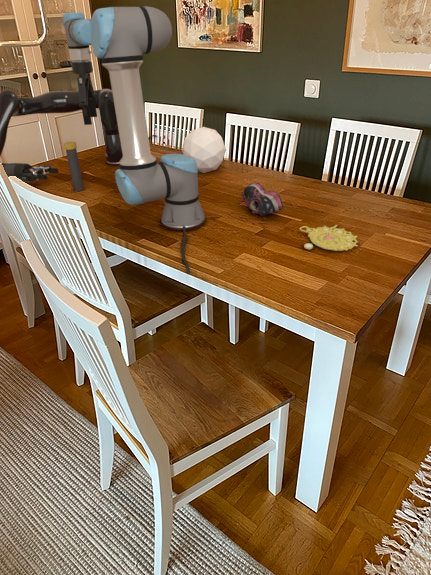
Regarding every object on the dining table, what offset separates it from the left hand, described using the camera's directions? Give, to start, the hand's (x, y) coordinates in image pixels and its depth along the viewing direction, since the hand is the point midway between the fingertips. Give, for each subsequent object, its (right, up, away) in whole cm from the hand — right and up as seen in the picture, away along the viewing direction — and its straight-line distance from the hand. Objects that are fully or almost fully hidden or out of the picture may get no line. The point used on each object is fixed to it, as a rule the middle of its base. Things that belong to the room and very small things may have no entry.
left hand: (52, 173), depth 186 cm
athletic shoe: (+84, -20, -24) cm, 90 cm away
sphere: (+64, +6, +17) cm, 67 cm away
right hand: (+19, +19, -10) cm, 29 cm away
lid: (+10, +10, -9) cm, 17 cm away
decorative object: (+105, -33, -45) cm, 119 cm away
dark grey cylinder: (+11, -6, +1) cm, 13 cm away
